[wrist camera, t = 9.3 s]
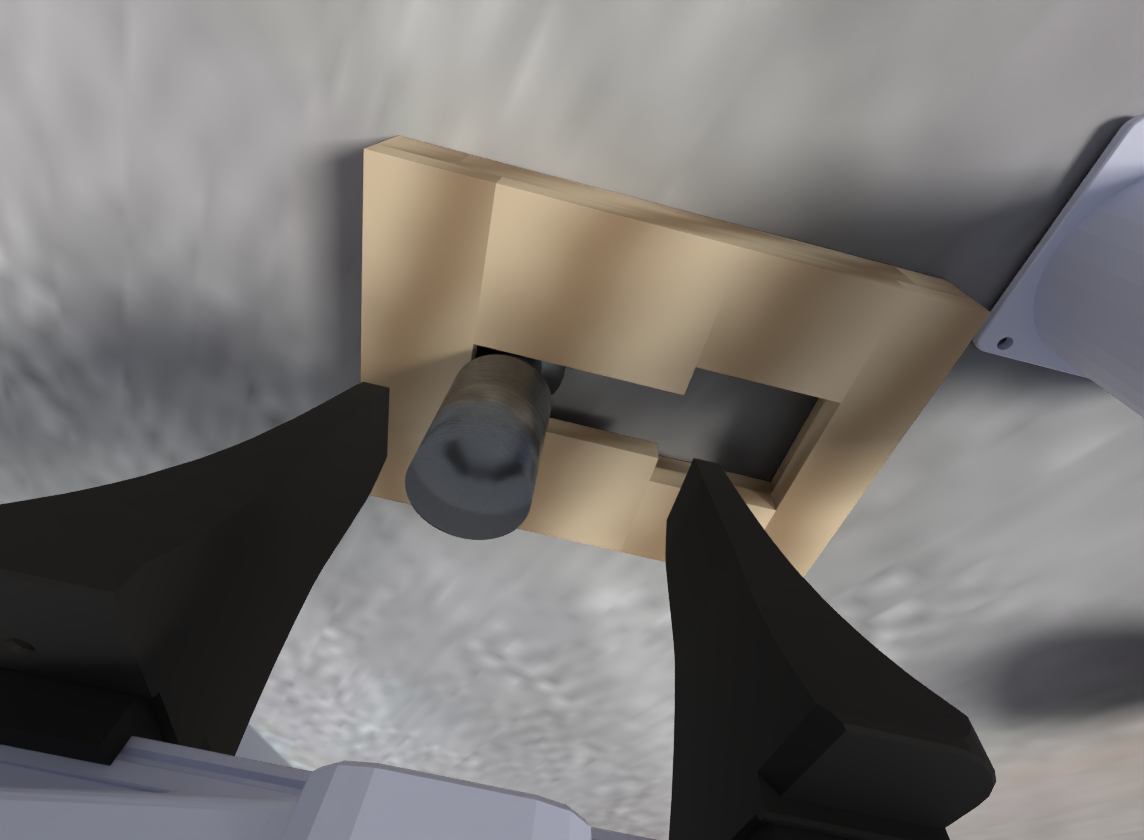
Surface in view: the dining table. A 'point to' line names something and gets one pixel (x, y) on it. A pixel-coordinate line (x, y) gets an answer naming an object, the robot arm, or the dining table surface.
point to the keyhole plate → (640, 336)
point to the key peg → (485, 446)
